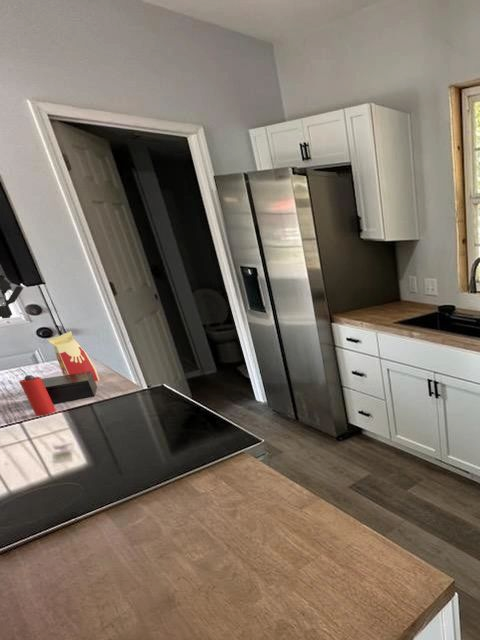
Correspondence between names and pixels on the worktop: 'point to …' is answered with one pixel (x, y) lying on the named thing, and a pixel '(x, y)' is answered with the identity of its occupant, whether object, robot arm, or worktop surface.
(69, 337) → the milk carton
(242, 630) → the worktop surface
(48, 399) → the red capped cylinder
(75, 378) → the lid
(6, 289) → the robot arm
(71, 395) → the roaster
